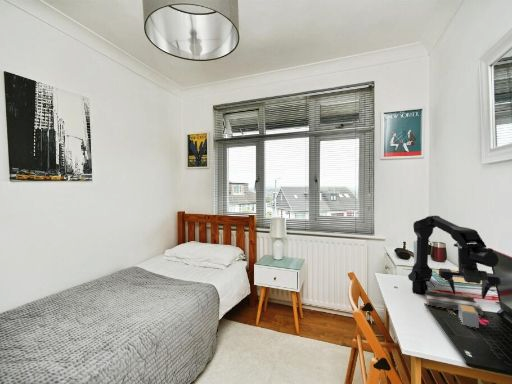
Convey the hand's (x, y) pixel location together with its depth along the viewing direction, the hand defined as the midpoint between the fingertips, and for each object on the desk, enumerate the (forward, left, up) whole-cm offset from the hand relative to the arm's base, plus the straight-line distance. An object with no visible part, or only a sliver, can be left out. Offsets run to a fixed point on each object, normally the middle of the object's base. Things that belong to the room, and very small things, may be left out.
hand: (468, 296), depth 99 cm
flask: (-13, +44, -11) cm, 47 cm away
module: (0, 0, -11) cm, 11 cm away
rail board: (-3, +16, -11) cm, 20 cm away
